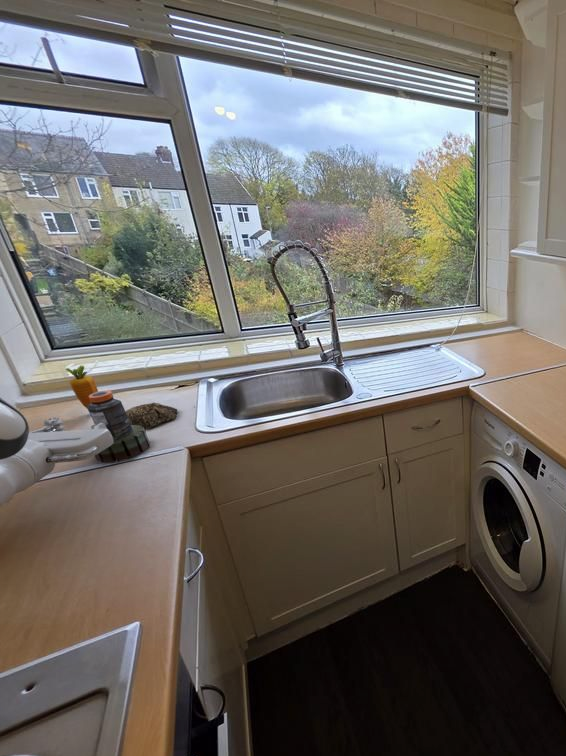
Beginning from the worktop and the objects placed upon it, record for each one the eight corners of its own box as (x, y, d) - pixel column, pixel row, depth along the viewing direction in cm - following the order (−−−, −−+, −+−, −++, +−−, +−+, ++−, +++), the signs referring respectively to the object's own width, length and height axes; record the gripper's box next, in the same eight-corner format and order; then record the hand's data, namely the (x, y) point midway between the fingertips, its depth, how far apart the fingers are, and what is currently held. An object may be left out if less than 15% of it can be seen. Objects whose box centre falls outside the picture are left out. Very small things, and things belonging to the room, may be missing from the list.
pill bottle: (132, 426, 104) (116, 386, 99) (134, 435, 100) (117, 393, 96) (100, 434, 100) (82, 393, 96) (101, 444, 96) (82, 401, 92)
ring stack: (94, 467, 96) (86, 450, 94) (99, 448, 103) (92, 432, 101) (149, 453, 101) (142, 437, 99) (150, 437, 108) (144, 421, 107)
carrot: (79, 416, 118) (57, 368, 112) (97, 408, 122) (77, 362, 116) (93, 418, 117) (72, 369, 111) (111, 410, 122) (92, 363, 116)
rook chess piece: (51, 447, 103) (37, 419, 100) (76, 440, 106) (63, 413, 103) (52, 454, 100) (37, 425, 97) (77, 447, 103) (64, 419, 100)
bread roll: (111, 426, 113) (104, 410, 111) (157, 407, 124) (151, 392, 122) (145, 433, 110) (138, 417, 108) (189, 413, 121) (184, 398, 119)
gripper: (76, 444, 77) (126, 411, 90) (-54, 453, 74) (16, 417, 86) (89, 471, 80) (135, 436, 92) (-36, 481, 76) (29, 442, 89)
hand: (77, 427), depth 89 cm, fingers open, 8 cm apart
